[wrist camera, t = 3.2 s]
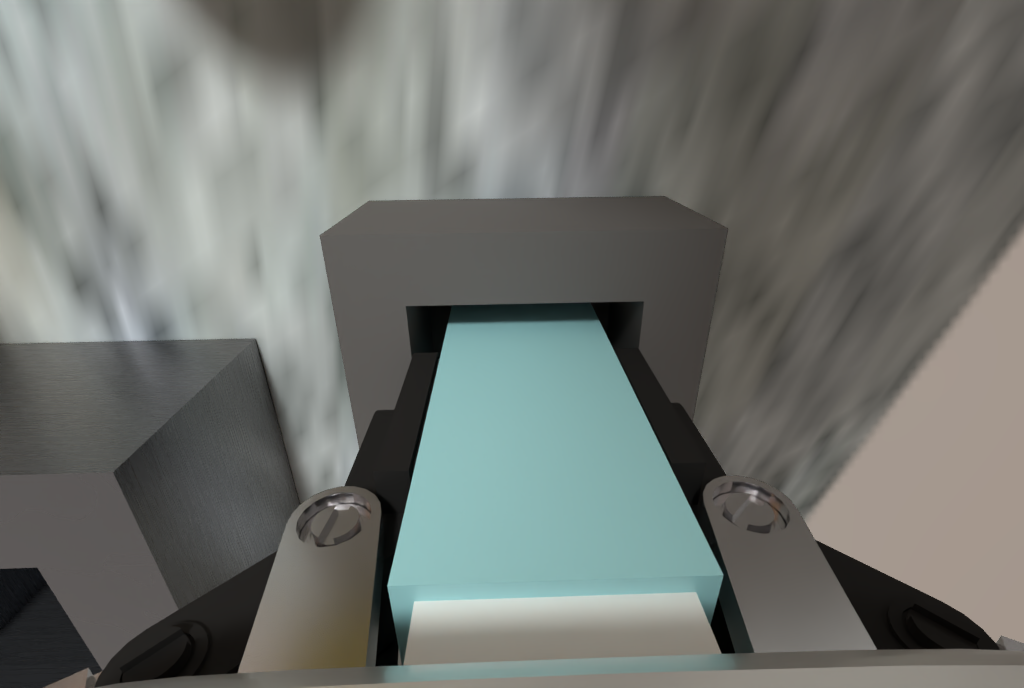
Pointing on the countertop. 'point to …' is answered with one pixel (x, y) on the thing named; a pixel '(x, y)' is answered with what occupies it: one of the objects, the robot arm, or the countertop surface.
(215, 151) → the countertop surface
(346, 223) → the grey square socket
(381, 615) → the robot arm
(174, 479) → the port block
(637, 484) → the plug
